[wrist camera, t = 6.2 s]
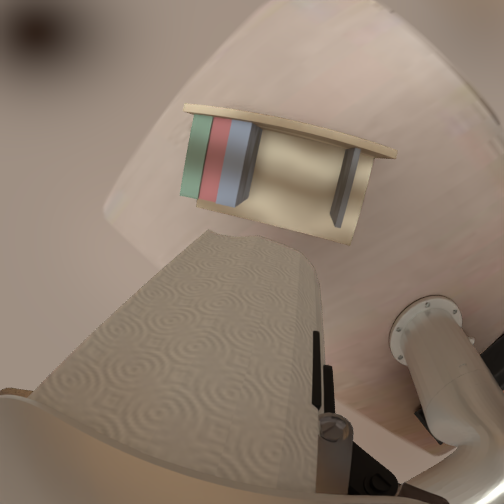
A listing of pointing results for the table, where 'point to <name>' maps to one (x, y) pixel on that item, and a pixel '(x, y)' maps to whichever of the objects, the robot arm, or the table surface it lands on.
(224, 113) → the book rack
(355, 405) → the table surface
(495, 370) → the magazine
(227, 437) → the paper towel roll
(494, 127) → the table surface
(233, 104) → the table surface
